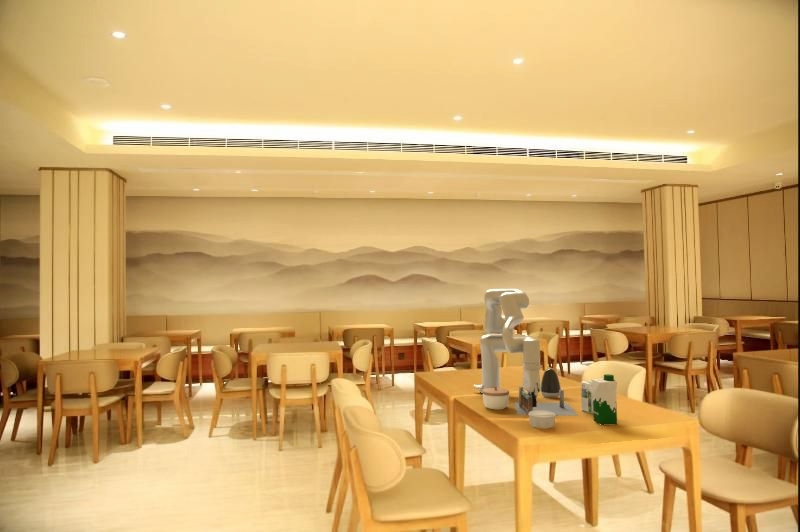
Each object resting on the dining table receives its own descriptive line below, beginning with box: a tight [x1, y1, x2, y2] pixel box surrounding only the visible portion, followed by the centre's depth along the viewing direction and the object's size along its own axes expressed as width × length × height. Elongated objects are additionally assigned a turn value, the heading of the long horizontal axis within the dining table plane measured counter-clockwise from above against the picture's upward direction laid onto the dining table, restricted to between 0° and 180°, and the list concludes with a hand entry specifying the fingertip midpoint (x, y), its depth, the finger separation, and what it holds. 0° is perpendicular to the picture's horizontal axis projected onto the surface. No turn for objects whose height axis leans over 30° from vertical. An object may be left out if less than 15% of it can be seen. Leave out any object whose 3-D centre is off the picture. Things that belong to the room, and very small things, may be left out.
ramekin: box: [527, 410, 557, 430], centre depth 220 cm, size 11×11×5 cm
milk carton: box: [591, 374, 618, 426], centre depth 224 cm, size 9×9×20 cm
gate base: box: [513, 386, 579, 417], centre depth 245 cm, size 26×24×10 cm
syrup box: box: [580, 380, 593, 414], centre depth 238 cm, size 6×6×14 cm
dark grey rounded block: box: [540, 367, 562, 399], centre depth 272 cm, size 10×10×15 cm
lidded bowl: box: [482, 386, 510, 411], centre depth 249 cm, size 13×13×11 cm
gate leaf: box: [520, 389, 533, 413], centre depth 240 cm, size 16×2×8 cm, turn 1°
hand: (532, 406), depth 238 cm, fingers closed
